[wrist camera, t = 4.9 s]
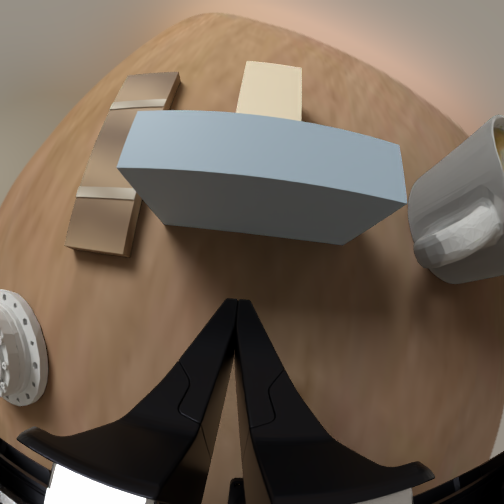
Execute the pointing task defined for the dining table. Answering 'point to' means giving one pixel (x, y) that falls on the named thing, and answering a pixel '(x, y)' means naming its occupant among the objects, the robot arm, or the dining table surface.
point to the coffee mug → (462, 209)
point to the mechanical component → (21, 352)
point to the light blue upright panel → (262, 166)
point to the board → (115, 171)
